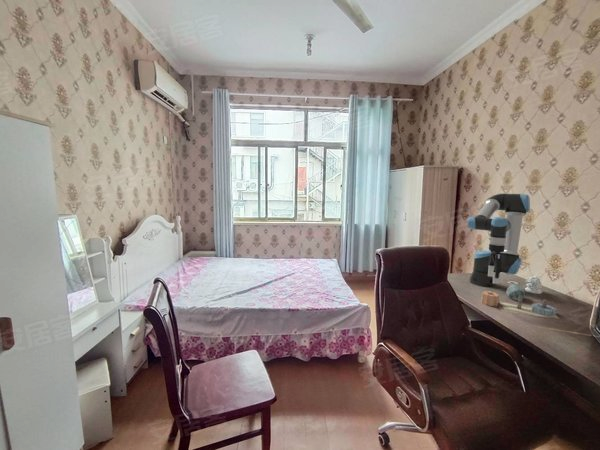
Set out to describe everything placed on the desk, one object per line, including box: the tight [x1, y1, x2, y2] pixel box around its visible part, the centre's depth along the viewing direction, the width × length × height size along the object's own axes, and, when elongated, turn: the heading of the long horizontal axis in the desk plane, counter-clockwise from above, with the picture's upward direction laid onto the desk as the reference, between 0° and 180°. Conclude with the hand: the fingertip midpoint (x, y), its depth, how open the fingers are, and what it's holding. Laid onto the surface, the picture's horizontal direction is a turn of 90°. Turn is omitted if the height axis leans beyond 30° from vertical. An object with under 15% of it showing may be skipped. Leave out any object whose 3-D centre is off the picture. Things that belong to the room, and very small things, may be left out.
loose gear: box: [481, 290, 500, 307], centre depth 174 cm, size 8×8×6 cm
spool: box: [506, 284, 526, 302], centre depth 182 cm, size 14×10×10 cm
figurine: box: [524, 274, 543, 295], centre depth 195 cm, size 12×9×10 cm
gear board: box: [499, 296, 560, 320], centre depth 164 cm, size 14×24×8 cm, turn 67°
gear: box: [531, 302, 557, 316], centre depth 162 cm, size 10×10×3 cm
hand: (492, 279), depth 172 cm, fingers open, 13 cm apart
